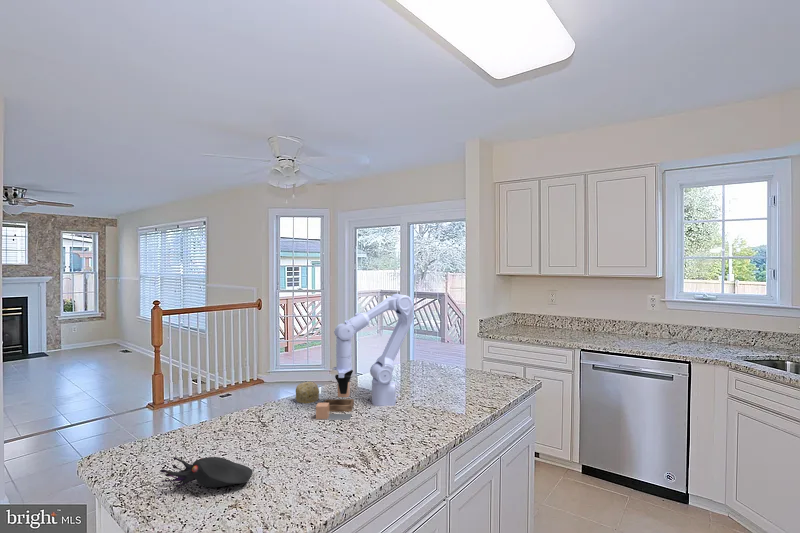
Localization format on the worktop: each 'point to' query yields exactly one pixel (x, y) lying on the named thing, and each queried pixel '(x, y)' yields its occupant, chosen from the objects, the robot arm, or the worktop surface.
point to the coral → (307, 392)
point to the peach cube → (346, 393)
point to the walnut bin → (340, 405)
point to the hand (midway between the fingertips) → (344, 391)
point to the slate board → (338, 417)
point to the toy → (211, 472)
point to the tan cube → (322, 411)
